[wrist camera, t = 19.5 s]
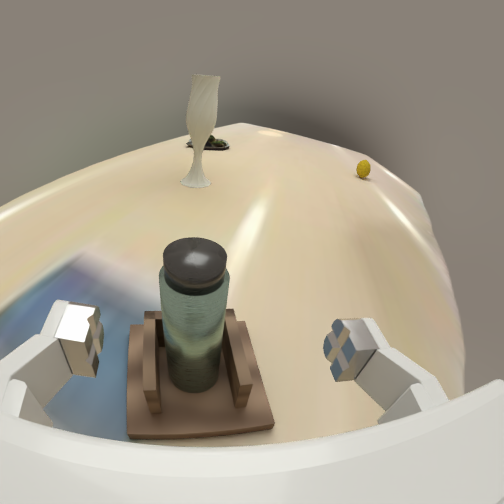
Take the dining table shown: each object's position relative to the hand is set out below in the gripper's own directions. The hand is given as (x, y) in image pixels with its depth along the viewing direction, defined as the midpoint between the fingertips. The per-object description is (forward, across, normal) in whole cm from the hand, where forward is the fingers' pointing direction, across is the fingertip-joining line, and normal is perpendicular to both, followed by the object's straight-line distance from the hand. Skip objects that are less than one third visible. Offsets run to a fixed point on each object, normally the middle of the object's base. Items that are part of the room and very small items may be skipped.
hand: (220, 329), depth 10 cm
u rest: (+13, +1, -22) cm, 26 cm away
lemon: (+95, +64, -16) cm, 116 cm away
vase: (+73, 0, -21) cm, 76 cm away
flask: (+13, +1, -21) cm, 24 cm away
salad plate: (+117, +4, -19) cm, 119 cm away
